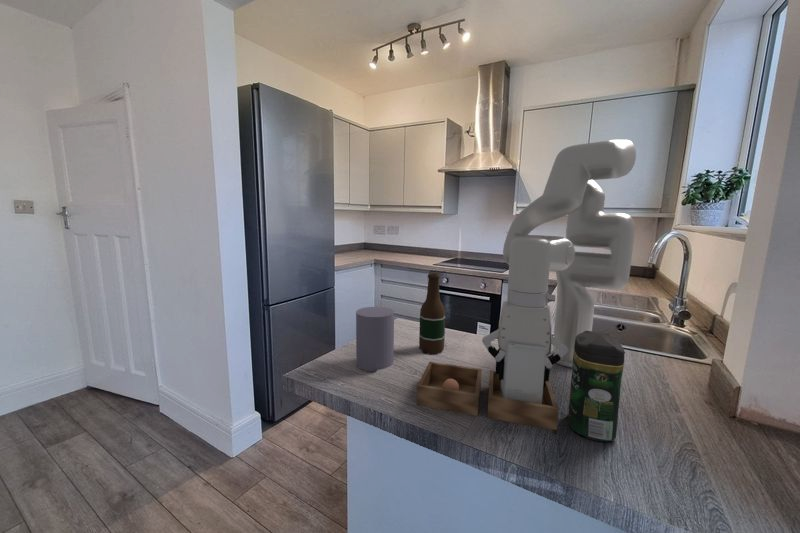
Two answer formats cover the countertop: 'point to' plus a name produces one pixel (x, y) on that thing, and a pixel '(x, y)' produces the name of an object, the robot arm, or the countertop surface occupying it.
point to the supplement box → (523, 373)
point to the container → (374, 338)
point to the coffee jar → (596, 385)
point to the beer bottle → (432, 319)
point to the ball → (451, 384)
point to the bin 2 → (522, 407)
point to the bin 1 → (446, 399)
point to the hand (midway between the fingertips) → (520, 379)
